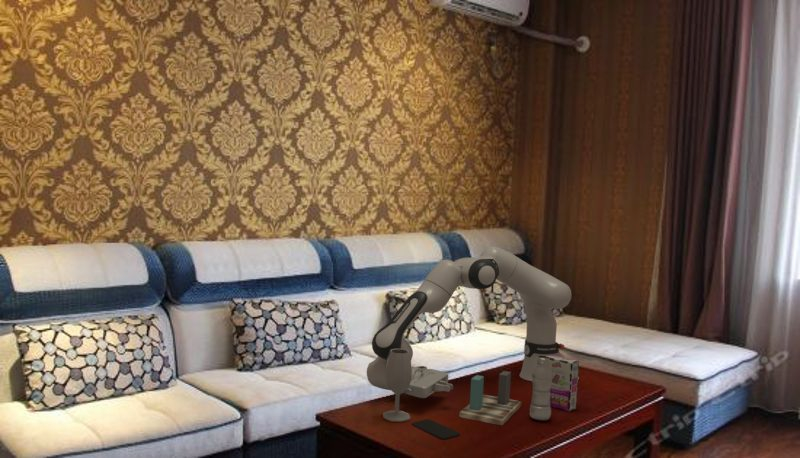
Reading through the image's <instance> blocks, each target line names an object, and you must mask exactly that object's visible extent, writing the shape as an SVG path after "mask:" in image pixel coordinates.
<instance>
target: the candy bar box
mask: <svg viewBox="0 0 800 458" xmlns="http://www.w3.org/2000/svg"><path fill="white" fill-rule="evenodd" d="M547 356H548V357H549V358H550V359H549V362H550V363H549V364H548V365H549V367H550V368H551V370H552V373H553V378H552V383H551V390H550V406H551V408H554V409H559V410H562V411H565V412H567V413H568V412H572V411H574V410H576V409H577V401H578V400H577V399H578V398H577V397H578V382H579V381H578V377H579V366H580V360H577V359H572V358H567V357H566V358H564V357H559V356H555V355H547Z"/></svg>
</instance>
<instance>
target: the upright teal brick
mask: <svg viewBox="0 0 800 458" xmlns="http://www.w3.org/2000/svg"><path fill="white" fill-rule="evenodd" d="M484 379H485V377H484V376H483V375H478V374H477V375H475V376H473V377H472V378H471V379H470V392H469V393H470V395H469V404H470V409H473V410H479V409H480V408H482V401H483V394H484V381H485V380H484Z"/></svg>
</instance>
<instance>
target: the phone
mask: <svg viewBox="0 0 800 458" xmlns="http://www.w3.org/2000/svg"><path fill="white" fill-rule="evenodd" d="M410 424H412V425H413V426H412V425H411V426H412V427H414V426H415V428H416V427H417V428H416V429H418V428H419V429H418V430H420V429H421V430H420V431H422V430H423V432H424V433H427V434H429V435H430V436H433V437H435V438H436V439H439V440H442V441H446V440H450V439H453V438H457V437H460V436H461V433H460V432H459V431H457V430H455V429H452V428H450V427H447V426H445V425H443V424H442V423H438V422H436V421H434V420H432V419H429V418H427V419H423V420H417V421H414V422H411V423H410Z"/></svg>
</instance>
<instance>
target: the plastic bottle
mask: <svg viewBox="0 0 800 458" xmlns="http://www.w3.org/2000/svg"><path fill="white" fill-rule="evenodd" d="M549 359H550V358H549V357H548V356H538V357H537V363H538V364H537V365H536V366H535V367H534V368H533V370H532V381H531V383H532V393H531V394H532V395H531V400H530V401H531V403H530V404H529V405H530V406H529V416H530V417H531V419H533V420H537V421H541V422H542V421H543V422H544V421H548V420H550V418H551V415H552V407H551V406H550V390H551V383H552V378H553V373H552V370H551V368H550V367H549V365H548V364H549V363H550V362H549Z"/></svg>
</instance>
